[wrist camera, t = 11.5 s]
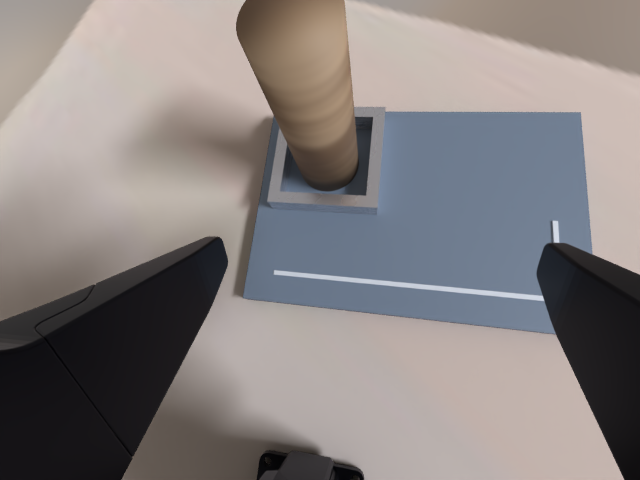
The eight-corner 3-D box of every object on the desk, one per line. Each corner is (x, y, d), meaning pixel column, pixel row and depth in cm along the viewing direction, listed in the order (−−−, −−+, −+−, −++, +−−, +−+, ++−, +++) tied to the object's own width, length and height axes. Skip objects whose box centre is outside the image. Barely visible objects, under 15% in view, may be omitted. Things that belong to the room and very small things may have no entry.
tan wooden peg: (368, 176, 23) (363, 30, 12) (312, 200, 24) (255, 79, 12) (344, 129, 25) (320, -43, 13) (292, 152, 25) (223, 3, 13)
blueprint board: (588, 337, 20) (600, 338, 19) (247, 299, 24) (242, 297, 22) (571, 121, 23) (581, 111, 22) (278, 118, 27) (274, 110, 26)
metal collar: (377, 215, 23) (377, 207, 21) (273, 208, 24) (267, 201, 22) (384, 119, 24) (385, 107, 23) (287, 119, 26) (282, 106, 24)
